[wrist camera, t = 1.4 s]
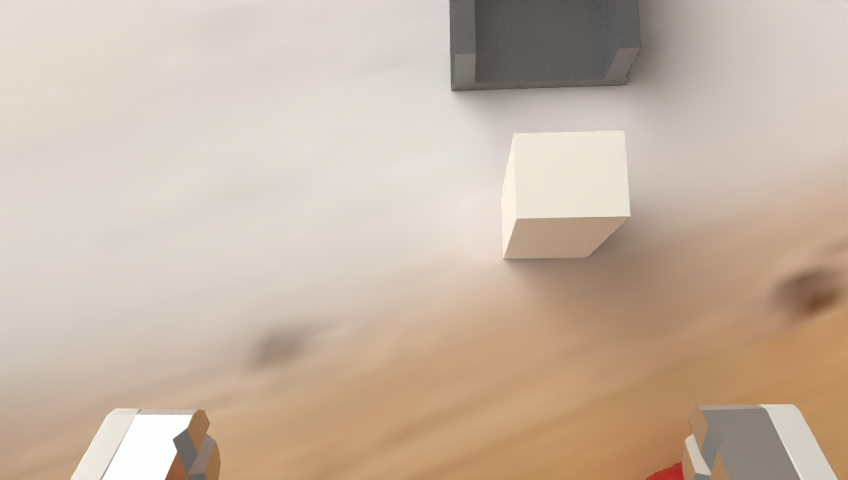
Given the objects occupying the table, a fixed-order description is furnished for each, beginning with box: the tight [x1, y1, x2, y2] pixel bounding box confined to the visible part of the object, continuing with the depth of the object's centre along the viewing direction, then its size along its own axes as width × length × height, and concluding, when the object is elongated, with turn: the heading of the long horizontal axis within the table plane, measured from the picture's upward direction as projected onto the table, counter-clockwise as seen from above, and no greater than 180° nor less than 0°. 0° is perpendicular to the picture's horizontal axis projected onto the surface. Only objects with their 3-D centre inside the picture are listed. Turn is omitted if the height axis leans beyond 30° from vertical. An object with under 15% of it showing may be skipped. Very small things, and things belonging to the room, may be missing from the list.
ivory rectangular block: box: [501, 130, 630, 259], centre depth 36 cm, size 5×4×11 cm
